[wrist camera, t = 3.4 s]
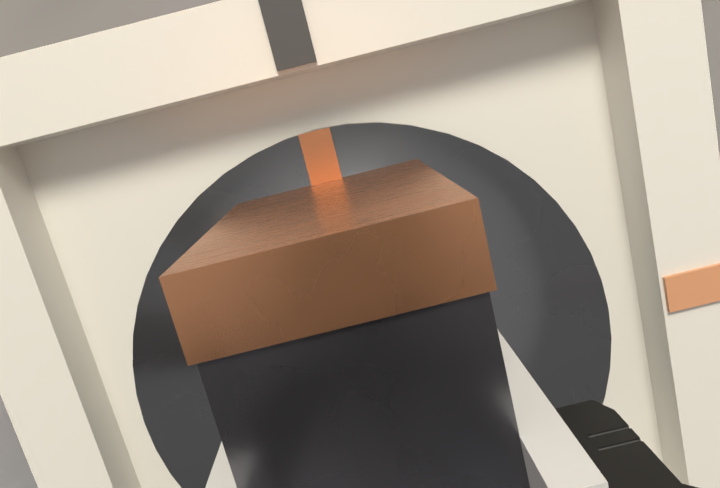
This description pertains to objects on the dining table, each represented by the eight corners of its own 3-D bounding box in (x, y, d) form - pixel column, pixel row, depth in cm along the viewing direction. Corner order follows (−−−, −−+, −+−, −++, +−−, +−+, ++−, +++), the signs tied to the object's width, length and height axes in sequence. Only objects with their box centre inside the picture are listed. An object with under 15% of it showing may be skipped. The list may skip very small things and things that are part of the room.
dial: (620, 484, 20) (830, 765, 11) (222, 580, 20) (137, 924, 11) (548, 70, 17) (756, 31, 8) (86, 186, 17) (-156, 261, 9)
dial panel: (720, 530, 21) (772, 587, 19) (160, 662, 22) (136, 737, 19) (637, -87, 17) (690, -122, 15) (-59, 92, 18) (-128, 89, 15)
